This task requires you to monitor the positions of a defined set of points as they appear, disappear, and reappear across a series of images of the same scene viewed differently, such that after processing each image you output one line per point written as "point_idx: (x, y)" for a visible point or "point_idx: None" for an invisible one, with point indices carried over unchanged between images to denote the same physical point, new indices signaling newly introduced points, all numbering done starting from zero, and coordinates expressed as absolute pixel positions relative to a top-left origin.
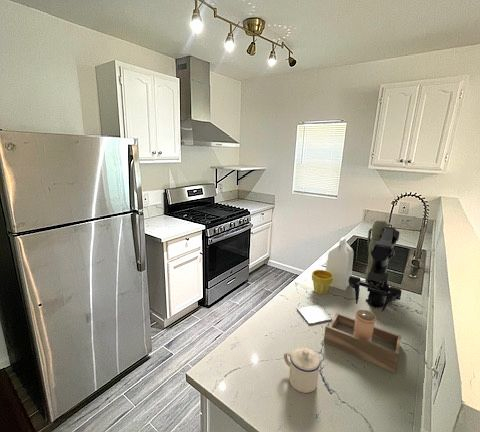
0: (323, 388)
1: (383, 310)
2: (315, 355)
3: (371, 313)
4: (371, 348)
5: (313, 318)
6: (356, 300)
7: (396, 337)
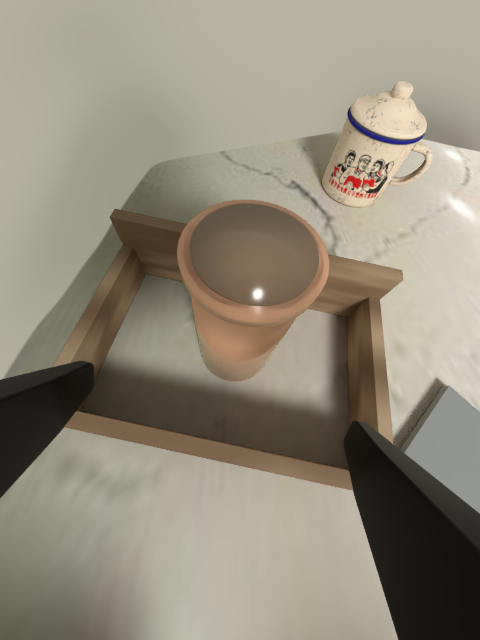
0: (308, 186)
1: (68, 363)
2: (372, 116)
3: (209, 277)
4: None
5: (457, 432)
6: (380, 440)
7: None
